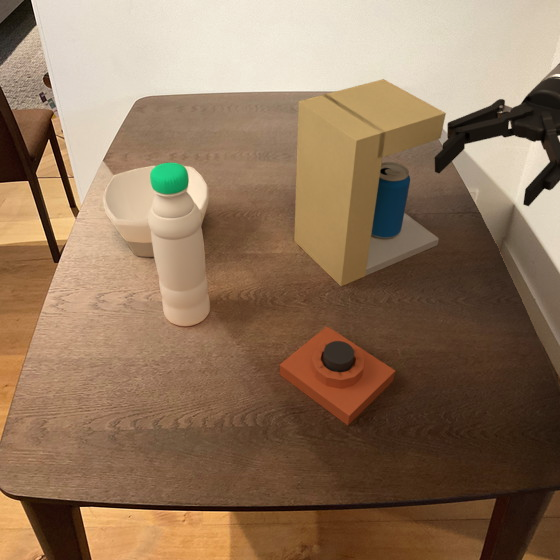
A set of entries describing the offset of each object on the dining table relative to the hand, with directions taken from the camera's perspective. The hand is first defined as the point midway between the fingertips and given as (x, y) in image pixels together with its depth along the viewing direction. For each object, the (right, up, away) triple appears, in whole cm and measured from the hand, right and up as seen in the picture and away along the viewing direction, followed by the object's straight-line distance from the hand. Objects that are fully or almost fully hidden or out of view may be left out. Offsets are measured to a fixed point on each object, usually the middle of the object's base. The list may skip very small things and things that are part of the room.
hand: (479, 181), depth 79 cm
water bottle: (-41, -19, +10) cm, 46 cm away
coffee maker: (-12, -7, +23) cm, 27 cm away
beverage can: (-9, -5, +24) cm, 26 cm away
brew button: (-20, -24, -2) cm, 31 cm away
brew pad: (-20, -27, +1) cm, 33 cm away
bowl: (-48, -6, +24) cm, 54 cm away
